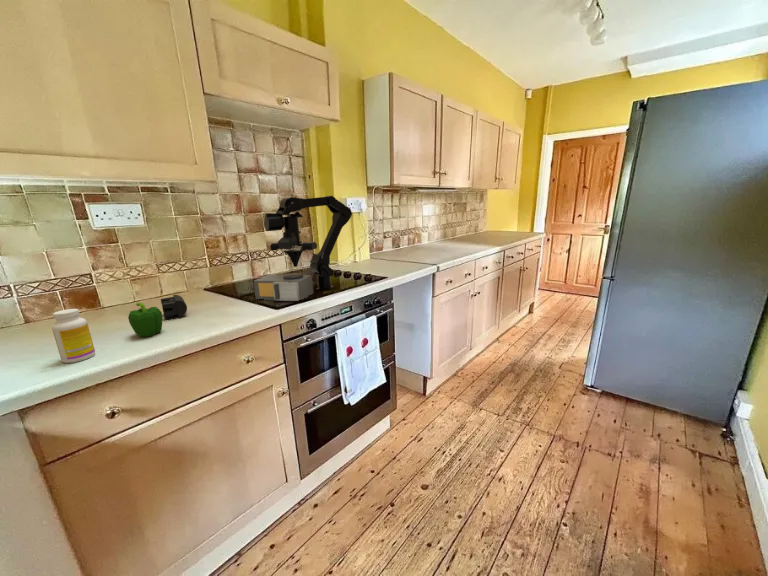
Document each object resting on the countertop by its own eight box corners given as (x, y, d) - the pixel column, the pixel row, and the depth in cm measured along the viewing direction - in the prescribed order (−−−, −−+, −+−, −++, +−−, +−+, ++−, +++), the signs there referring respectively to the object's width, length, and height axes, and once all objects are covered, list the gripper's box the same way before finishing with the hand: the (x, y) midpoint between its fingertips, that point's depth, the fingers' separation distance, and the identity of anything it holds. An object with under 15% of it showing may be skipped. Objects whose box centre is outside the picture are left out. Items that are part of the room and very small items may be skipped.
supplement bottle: (102, 353, 89) (90, 307, 85) (74, 364, 82) (60, 316, 79) (84, 351, 90) (71, 306, 87) (55, 362, 84) (40, 314, 81)
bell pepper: (168, 333, 101) (161, 302, 99) (135, 341, 96) (128, 309, 93) (162, 327, 107) (156, 297, 105) (131, 334, 102) (123, 303, 99)
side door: (277, 298, 133) (275, 281, 131) (300, 299, 131) (298, 281, 129) (273, 300, 130) (271, 283, 129) (296, 301, 128) (294, 283, 126)
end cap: (189, 316, 117) (185, 298, 115) (165, 321, 113) (161, 302, 112) (185, 310, 125) (182, 293, 123) (163, 314, 121) (160, 296, 119)
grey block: (272, 292, 147) (269, 272, 145) (313, 293, 143) (311, 272, 140) (256, 299, 136) (253, 278, 134) (300, 301, 131) (298, 278, 129)
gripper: (260, 231, 130) (265, 270, 134) (303, 230, 126) (307, 270, 129) (275, 229, 140) (279, 265, 144) (316, 228, 136) (319, 265, 140)
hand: (295, 266), depth 139 cm, fingers closed
